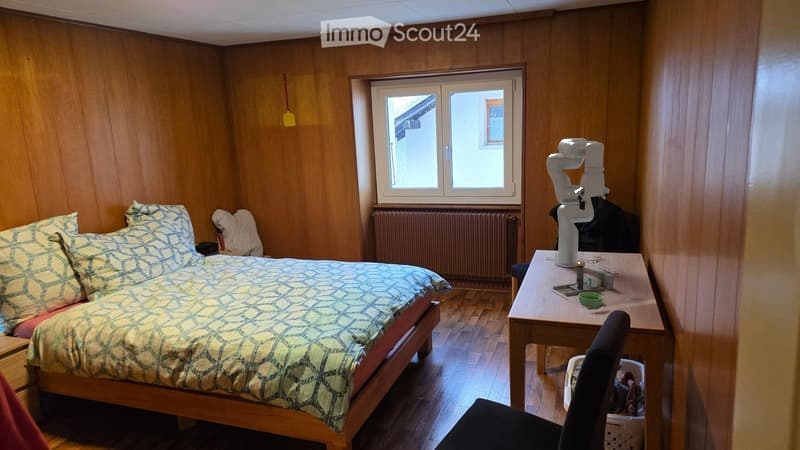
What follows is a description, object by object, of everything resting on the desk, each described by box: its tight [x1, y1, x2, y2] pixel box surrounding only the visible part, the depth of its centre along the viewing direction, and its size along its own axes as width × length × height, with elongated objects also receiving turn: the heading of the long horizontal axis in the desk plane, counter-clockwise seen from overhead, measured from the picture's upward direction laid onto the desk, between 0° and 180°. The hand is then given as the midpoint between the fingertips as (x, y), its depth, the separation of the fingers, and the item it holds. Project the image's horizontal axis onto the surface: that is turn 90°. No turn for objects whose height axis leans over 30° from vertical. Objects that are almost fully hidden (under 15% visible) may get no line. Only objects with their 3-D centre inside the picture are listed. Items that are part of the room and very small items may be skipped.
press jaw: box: [569, 260, 597, 291], centre depth 211 cm, size 7×9×12 cm
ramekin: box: [578, 292, 604, 311], centre depth 196 cm, size 9×9×4 cm
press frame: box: [551, 269, 618, 301], centre depth 212 cm, size 12×24×8 cm, turn 106°
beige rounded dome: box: [597, 279, 601, 288], centre depth 213 cm, size 4×4×3 cm
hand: (591, 208), depth 222 cm, fingers open, 9 cm apart
